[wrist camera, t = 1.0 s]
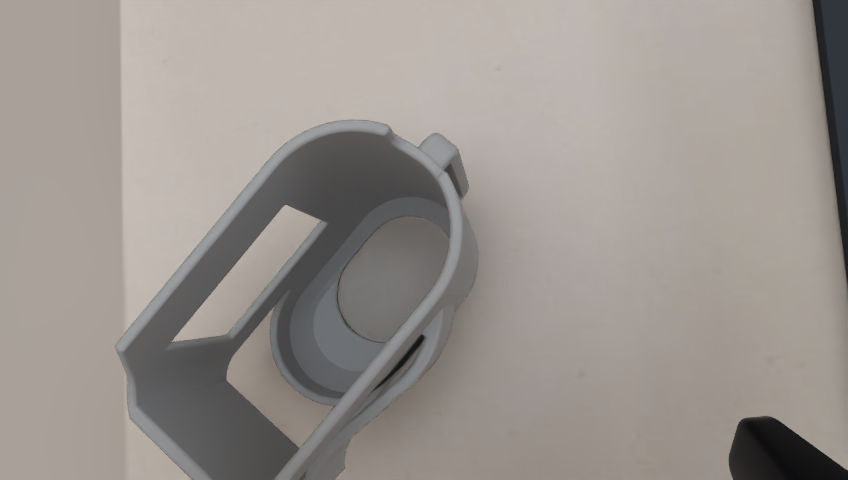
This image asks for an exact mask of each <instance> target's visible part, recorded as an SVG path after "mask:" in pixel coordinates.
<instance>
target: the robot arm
mask: <svg viewBox="0 0 848 480" xmlns="http://www.w3.org/2000/svg"><path fill="white" fill-rule="evenodd" d="M729 467H730V472H731V475H732V478H733V480H848V471H847V470H846V469H844V468H843V467H842V466H840V465H839V464H837V463H836V462H835V461H833V460H832V459H831V458H829V457H828V456H826V455H825V454H824V453H822V452H821V451H820V450H818V449H817V448H815V447H814V446H813V445H811V444H810V443H809V442H807V441H806V440H804V439H803V438H802V437H800V436H799V435H798V434H796V433H795V432H793V431H792V430H791V429H789V428H788V427H787V426H785V425H784V424H782V423H781V422H780V421H778V420H777V419H775V418H772V417H769V416H762V417H751V418H744V419H742V420H741V421H740V422H739V424H738V426H737V430H736V433H735V436H734V440H733V443H732V447H731V450H730V454H729Z"/></svg>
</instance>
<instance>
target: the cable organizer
mask: <svg viewBox="0 0 848 480" xmlns="http://www.w3.org/2000/svg"><path fill="white" fill-rule="evenodd" d="M468 189H469V184H468V181H467V178H466V174H465V171H464V167H463V164H462V160H461V157H460V153H459V150H458V148H457V147H456V146H455V145H454V144H452V143H451V142H450V141H449V140H447V139H446V138H445V137H444V136H442V135H441V134H439V133H434V134H431V135H430V136H428V137H427V138H426V139H425V140H424V141H423V142H422V143H421V144H420V146H419V147H416V146H414V145H413V144H411V143H409V142H407V141H406V140H404V139H402V138H400V137H398V136H397V135H395V134H394V133H393V131H392V130H391V128H390V127H389V126H388V125H386V124H382V123H378V122H374V121H367V120H341V121H335V122H330V123H326V124H322V125H319V126H316V127H314V128H311V129H309V130H307V131H304V132H303V133H301V134H299V135H297V136H296V137H294V138H292V139H291V140H290V141H288V142H287V143H285V144H284V145H283V146H282V147H281V148H280V149H278V150H277V151H276V152H275V153H274V154H273V155H272V156H271V158H270V159H269V160H268V161H267V162H266V163H265V164H264V166H263V167H262V168H261V169H260V170H259V172H258V173H257V174H256V175H255V176H254V178H253V179H252V180H251V181H250V183H249V184H248V185H247V186H246V187H245V189H244V190H243V191H242V192H241V193H240V195H239V196H238V197H237V198H236V199H235V201H234V202H233V203H232V204H231V205H230V207H229V208H228V209H227V210H226V212H225V213H224V214H223V215H222V216H221V218H220V219H219V220H218V221H217V222H216V224H215V225H214V226H213V227H212V228H211V230H210V231H209V232H208V233H207V234H206V236H205V237H204V238H203V239H202V241H201V242H200V243H199V244H198V245H197V247H196V248H195V249H194V250H193V251H192V253H191V254H190V255H189V256H188V257H187V259H186V260H185V261H184V262H183V263H182V265H181V266H180V267H179V268H178V270H177V271H176V272H175V273H174V274H173V276H172V277H171V278H170V279H169V280H168V282H167V283H166V284H165V285H164V286H163V288H162V289H161V290H160V291H159V292H158V294H157V295H156V296H155V297H154V299H153V300H152V301H151V302H150V303H149V305H148V306H147V307H146V308H145V309H144V311H143V312H142V313H141V314H140V315H139V317H138V318H137V319H136V320H135V321H134V323H133V324H132V325H131V326H130V328H129V329H128V330H127V331H126V332H125V334H124V335H123V336H122V337H121V338H120V340H119V341H118V342H117V343H116V345H115V348H116V351H117V353H118V355H119V358H120V360H121V362H122V365H123V367H124V369H125V372H126V375H127V404H128V412H129V417H130V419H131V420H132V421H133V422H134V423H135V424H136V425H137V426H138V427H139V428H140V429H141V430H142V431H143V432H144V433H145V434H146V435H147V436H148V437H149V438H150V439H151V440H152V441H153V442H154V443H155V444H156V445H157V446H158V447H159V448H160V449H161V450H162V451H163V452H164V453H165V454H166V455H167V456H168V457H169V458H170V459H172V460H173V461H174V462H175V463H176V464H177V465H178V466H179V467H180V468H181V469H182V470H183V471H184V472H185V473H186V474H187V475H188V476H189V477H190V478H191V479H192V480H304V479H305V480H335V479H336V477H337V476H338V475H339V474H340V473H341V472H342V471H343V470H344V469H345V465H344V461H345V453H346V449H347V447H348V444H349V442H350V440H351V439H352V437H353V436H354V435H356V434H357V433H358V432H359V431H360V430H361V429H363V428H364V427H365V426H366V425H367V424H368V423H370V422H371V421H372V420H373V419H374V418H375V417H376V416H378V415H379V414H380V413H381V412H382V411H383V410H385V409H386V408H387V407H388V406H389V405H390V404H392V403H393V402H394V401H395V400H396V399H397V398H399V397H400V396H401V395H402V394H403V393H404V392H406V391H407V390H408V389H409V388H410V387H411V386H412V385H413V384H414V383H415V382H416V381H417V380H418V379H419V378H421V377H422V376H423V375H424V374H425V373H426V372H427V371H428V370H429V369H430V368H431V367H432V365H433V364H434V363H435V362H436V360H437V359H438V357H439V356H440V354H441V352H442V350H443V348H444V346H445V344H446V341H447V339H448V336H449V333H450V329H451V325H452V319H453V313H454V312H455V311H456V309H457V308H458V307H459V306H460V304H461V303H462V302H463V301H464V299H465V298H466V296H467V295H468V293H469V291H470V290H471V288H472V286H473V283H474V280H475V277H476V273H477V268H478V248H477V242H476V239H475V235H474V232H473V230H472V228H471V225H470V223H469V220H468V218H467V216H466V213H465V211H464V209H463V206H462V204H461V200H462V199H463V198H464V196H465V195H466V193H467V191H468ZM284 205H288V206H290V207H293V208H295V209H297V210H299V211H302V212H304V213H306V214H308V215H311V216H313V217H315V218H318V219H320V220H321V222H320V223H319V224H318V225H317V226H316V228H315V229H314V230H313V231H312V232H311V234H310V235H309V236H308V237H307V238H306V240H305V241H304V242H303V243H302V244H301V246H300V247H299V248H298V249H297V251H296V252H295V253H294V254H293V255H292V257H291V258H290V259H289V260H288V261H287V263H286V264H285V265H284V266H283V267H282V269H281V270H280V271H279V272H278V273H277V275H276V276H275V277H274V278H273V279H272V281H271V282H270V283H269V284H268V286H267V287H266V288H265V289H264V290H263V292H262V293H261V294H260V295H259V296H258V298H257V299H256V300H255V301H254V302H253V304H252V305H251V306H250V307H249V308H248V310H247V311H246V312H245V313H244V314H243V316H242V317H241V318H240V319H239V321H238V322H237V323H236V324H235V325H234V327H233V328H232V329H231V330H230V331H229V332H228V333H227V334H226V335H223V336H216V337H208V338H200V339H192V340H184V341H176V342H171V341H172V340H173V339H174V337H175V336H176V335H177V334H178V333H179V331H180V330H181V329H182V328H183V327H184V325H185V324H186V323H187V322H188V321H189V319H190V318H191V317H192V316H193V315H194V313H195V312H196V311H197V310H198V309H199V307H200V306H201V305H202V304H203V302H204V301H205V300H206V299H207V298H208V296H209V295H210V294H211V293H212V292H213V290H214V289H215V288H216V287H217V286H218V284H219V283H220V282H221V281H222V280H223V278H224V277H225V276H226V275H227V273H228V272H229V271H230V270H231V269H232V267H233V266H234V265H235V264H236V263H237V261H238V260H239V259H240V258H241V257H242V255H243V254H244V253H245V252H246V251H247V249H248V248H249V247H250V246H251V244H252V243H253V242H254V241H255V240H256V238H257V237H258V236H259V235H260V234H261V232H262V231H263V230H264V229H265V228H266V226H267V225H268V224H269V223H270V222H271V220H272V219H273V218H274V217H275V216H276V214H277V213H278V212H279V211H280V209H281V208H282V207H283V206H284ZM402 216H416V217H421V218H424V219H427V220H429V221H431V222H433V223H435V224H436V225H437V226H439V227H440V228H441V229H442V230H443V231H444V232H445V233H446V235H447V236H448V237H449V239H450V241H449V248H448V253H447V257H446V260H445V263H444V266H443V269H442V271H441V273H440V275H439V277H438V279H437V281H436V283H435V284H434V286H433V288H432V289H431V290H430V292H429V293H428V294H427V296H426V297H425V298H424V299H423V300H422V302H421V303H420V304H419V305H418V306H417V308H416V309H415V310H414V311H413V312H412V314H411V315H410V316H409V317H408V318H407V320H406V321H405V322H404V323H403V325H402V326H401V327H400V328H399V329H398V331H397V332H396V333H395V334H394V335H393V337H392V338H391V339H390V340H389V341H388V342H385V343H382V342H374V341H370V340H367V339H365V338H363V337H361V336H359V335H358V334H356V333H355V332H354V331H353V330H352V329H351V328H350V327H349V326H348V325H347V324H346V322H345V321H344V319H343V318H342V315H341V313H340V310H339V307H338V302H337V288H338V283H339V279H340V276H341V273H342V271H343V269H344V267H345V266H346V265H347V263H348V262H349V261H350V260H351V258H352V257H353V256H354V255H355V254H356V252H357V251H358V250H359V249H360V248H361V246H362V245H363V244H364V243H365V242H366V240H367V239H368V238H369V237H370V236H371V234H372V233H373V232H374V231H375V230H376V229H377V228H378V227H379V226H381V225H382V224H384V223H385V222H387V221H389V220H391V219H394V218H397V217H402ZM275 304H276V305H275ZM274 306H275V307H274ZM273 307H274V310H273V313H272V318H271V323H270V343H271V349H272V353H273V357H274V360H275V362H276V364H277V367H278V369H279V370H280V372H281V374H282V375H283V377H284V378H285V379H286V381H287V382H288V383H289V384H290V385H291V386H292V387H293V388H294V389H295V390H296V391H298V392H299V393H300V394H302V395H303V396H305V397H307V398H309V399H311V400H313V401H315V402H318V403H321V404H325V405H329V406H334V408H333V409H332V410H331V411H330V412H329V414H328V415H327V416H326V417H325V418H324V420H323V421H322V422H321V423H320V424H319V426H318V427H317V428H316V429H315V430H314V432H313V433H312V434H311V435H310V436H309V438H308V439H307V440H306V441H305V443H304V444H303V445H302V446H301V447H300V449H299V448H298V447H297V446H296V445H295V444H294V443H293V442H292V441H291V440H290V439H289V438H288V437H287V436H286V435H284V434H283V433H282V432H281V431H280V430H279V429H278V428H277V427H276V426H275V425H274V424H273V423H272V422H271V421H269V420H268V419H267V418H266V417H265V416H264V415H263V414H262V413H261V412H260V411H259V410H258V409H257V408H256V407H254V406H253V405H252V404H251V403H250V402H249V401H248V400H247V399H246V398H245V397H244V396H243V395H242V394H240V393H239V392H238V391H237V390H236V389H235V388H234V387H233V386H232V385H231V384H230V383H229V382H228V381H227V380H226V375H227V369H228V365H229V362H230V360H231V358H232V357H233V355H234V354H235V353H236V351H237V350H238V349H239V348H240V347H241V345H242V344H243V343H244V342H245V341H246V339H247V338H248V337H249V336H250V334H251V333H252V332H253V331H254V330H255V328H256V327H257V326H258V325H259V324H260V322H261V321H262V320H263V319H264V318H265V316H266V315H267V314H268V313H269V312H270V310H271V309H272V308H273ZM412 362H413V363H412ZM411 363H412V364H411ZM410 365H411V366H410ZM409 366H410V367H409ZM408 367H409V368H408ZM407 368H408V370H407V371H406V369H407ZM405 371H406V372H405ZM404 372H405V373H404ZM403 373H404V374H403ZM402 374H403V375H402ZM401 375H402V376H401ZM345 423H346V424H345Z"/></svg>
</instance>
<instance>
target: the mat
mask: <svg viewBox="0 0 848 480" xmlns="http://www.w3.org/2000/svg"><path fill="white" fill-rule="evenodd" d="M813 5H814V13H815V21H816V29H817V37H818V45H819V53H820V61H821V69H822V77H823V85H824V93H825V101H826V109H827V117H828V125H829V133H830V142H831V150H832V158H833V166H834V174H835V182H836V190H837V198H838V206H839V214H840V222H841V230H842V238H843V246H844V254H845V262H846V270H847V278H848V0H813Z"/></svg>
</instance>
